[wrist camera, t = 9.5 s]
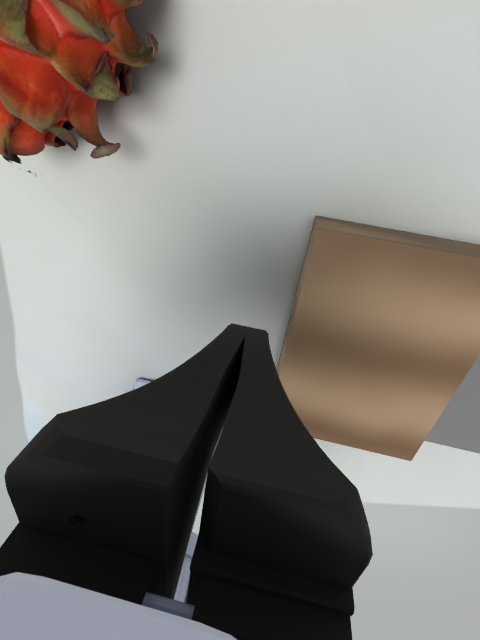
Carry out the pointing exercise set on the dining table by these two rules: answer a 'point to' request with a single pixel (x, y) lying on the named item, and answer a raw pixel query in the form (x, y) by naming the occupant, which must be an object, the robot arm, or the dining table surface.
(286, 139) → the dining table surface
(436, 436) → the mat
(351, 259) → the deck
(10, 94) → the dragon fruit
